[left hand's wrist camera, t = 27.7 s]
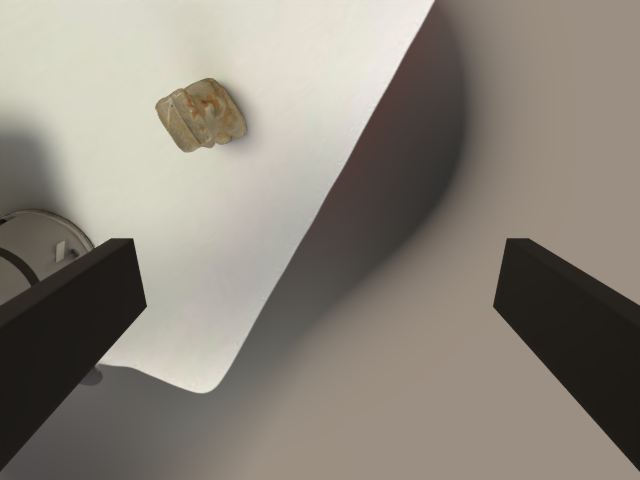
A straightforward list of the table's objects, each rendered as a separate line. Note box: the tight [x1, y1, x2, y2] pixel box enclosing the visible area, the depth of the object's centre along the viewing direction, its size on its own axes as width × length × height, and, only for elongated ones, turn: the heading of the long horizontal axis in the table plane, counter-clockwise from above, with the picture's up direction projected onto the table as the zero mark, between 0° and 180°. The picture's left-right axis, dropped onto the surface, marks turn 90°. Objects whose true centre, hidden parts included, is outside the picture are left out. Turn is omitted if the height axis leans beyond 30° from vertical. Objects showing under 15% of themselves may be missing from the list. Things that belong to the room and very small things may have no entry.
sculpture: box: [155, 78, 246, 152], centre depth 36 cm, size 6×7×15 cm
